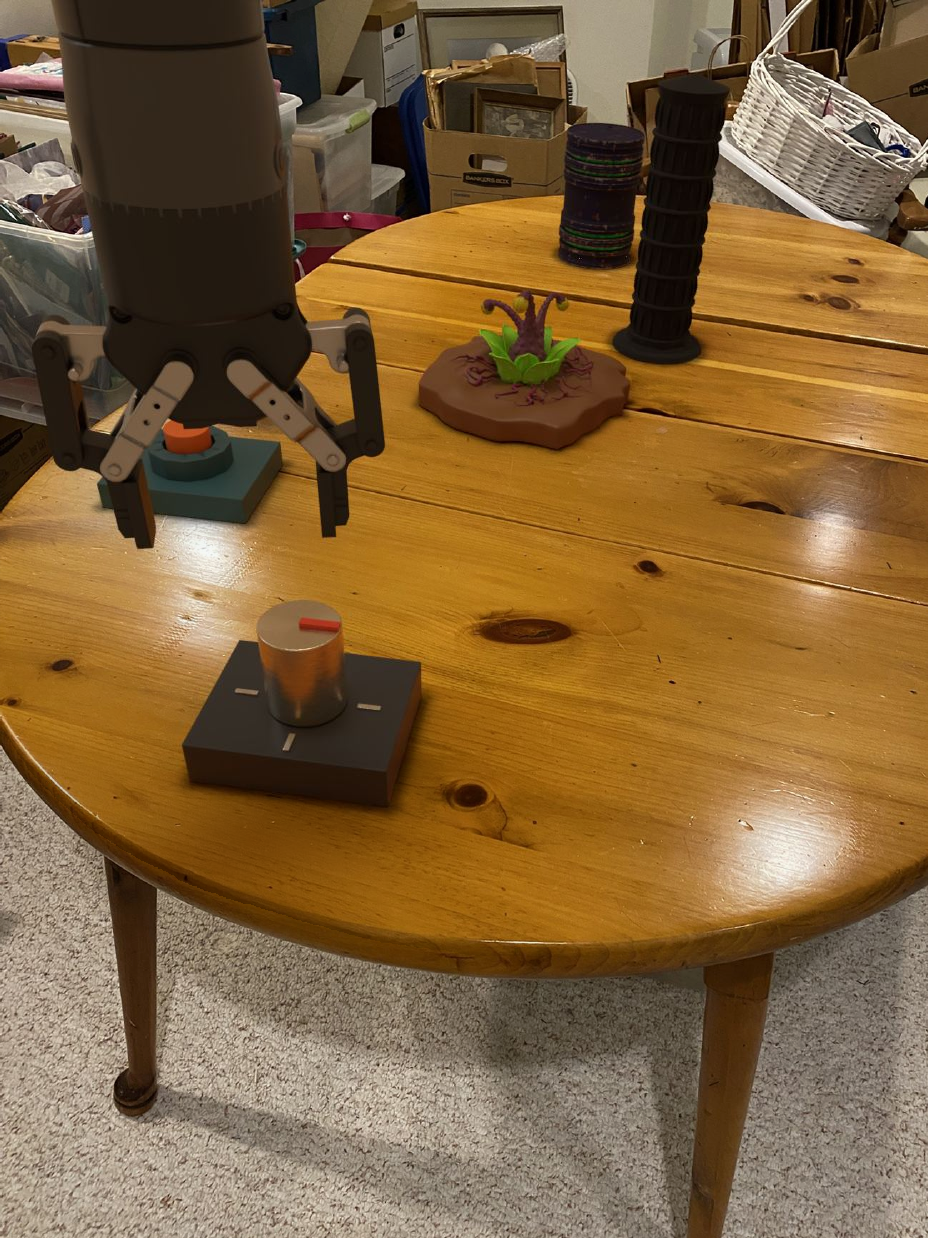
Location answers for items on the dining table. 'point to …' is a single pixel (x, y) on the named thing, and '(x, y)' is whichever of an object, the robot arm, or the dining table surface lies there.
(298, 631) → the knob
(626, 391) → the plant
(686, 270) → the handle grip
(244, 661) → the panel
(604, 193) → the storage jar
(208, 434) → the button
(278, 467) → the button block
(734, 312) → the dining table surface
